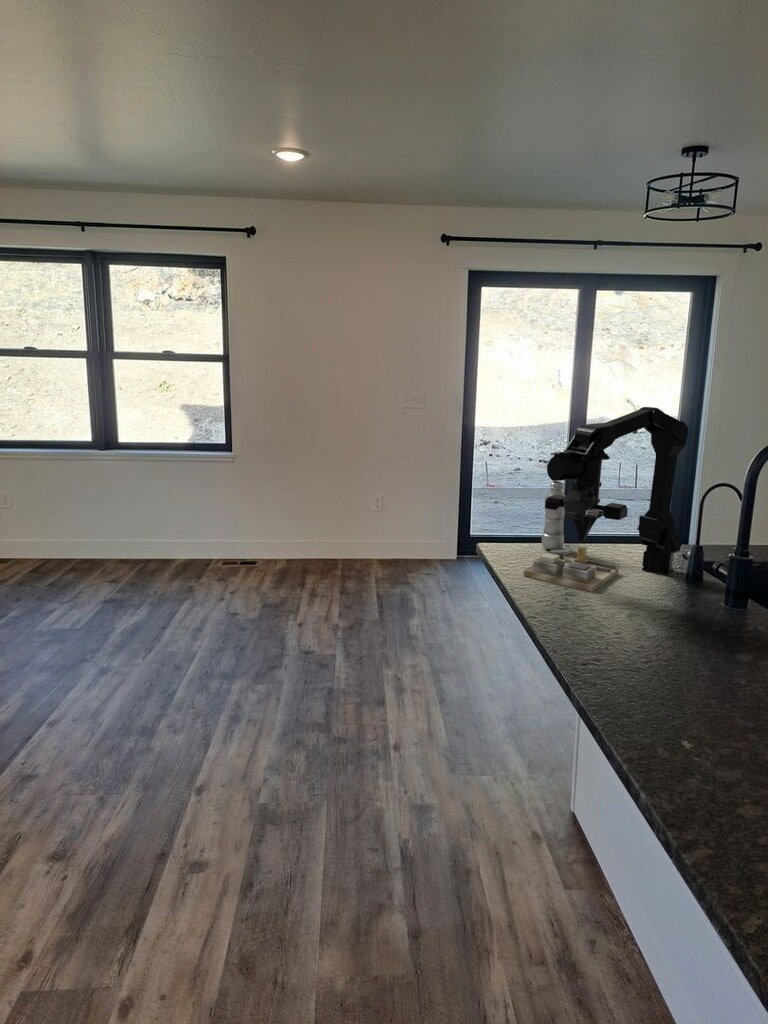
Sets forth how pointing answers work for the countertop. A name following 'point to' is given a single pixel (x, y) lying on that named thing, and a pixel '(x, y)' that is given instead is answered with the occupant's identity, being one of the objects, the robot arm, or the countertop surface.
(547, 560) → the cream button
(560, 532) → the plastic bottle
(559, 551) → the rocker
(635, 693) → the countertop surface
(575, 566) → the charcoal button
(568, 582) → the panel
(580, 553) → the slider
